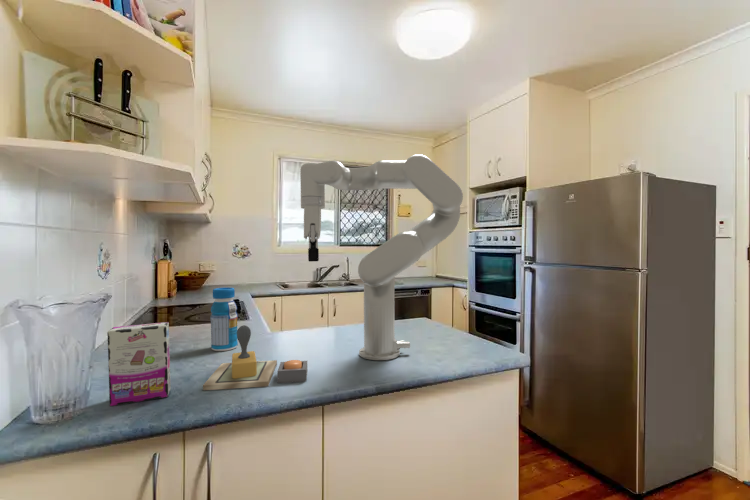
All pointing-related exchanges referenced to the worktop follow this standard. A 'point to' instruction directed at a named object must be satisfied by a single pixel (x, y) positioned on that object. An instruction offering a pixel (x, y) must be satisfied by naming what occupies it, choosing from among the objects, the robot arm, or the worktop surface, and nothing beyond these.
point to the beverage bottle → (223, 320)
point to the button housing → (292, 374)
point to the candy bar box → (138, 363)
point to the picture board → (225, 380)
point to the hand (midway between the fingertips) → (313, 261)
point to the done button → (293, 364)
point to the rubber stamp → (244, 356)
